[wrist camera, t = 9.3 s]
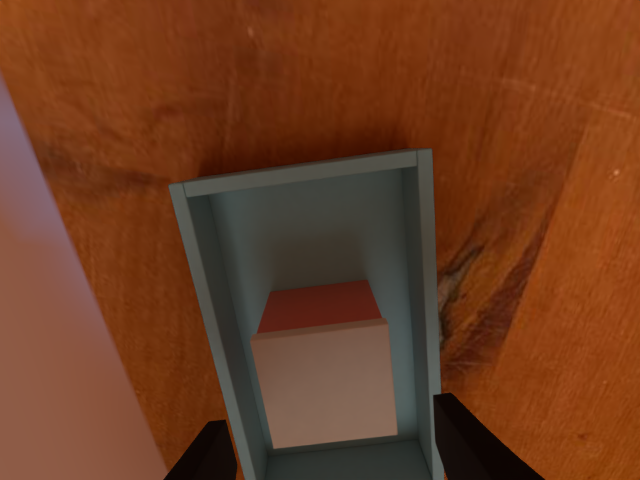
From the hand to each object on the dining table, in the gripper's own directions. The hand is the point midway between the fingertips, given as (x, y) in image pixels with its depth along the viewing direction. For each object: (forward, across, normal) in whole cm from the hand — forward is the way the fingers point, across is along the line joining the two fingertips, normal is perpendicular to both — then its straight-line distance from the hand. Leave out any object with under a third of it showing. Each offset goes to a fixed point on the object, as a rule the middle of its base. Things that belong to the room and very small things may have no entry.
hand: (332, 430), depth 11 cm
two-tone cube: (+6, 0, 0) cm, 6 cm away
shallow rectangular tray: (+7, 0, 0) cm, 7 cm away
